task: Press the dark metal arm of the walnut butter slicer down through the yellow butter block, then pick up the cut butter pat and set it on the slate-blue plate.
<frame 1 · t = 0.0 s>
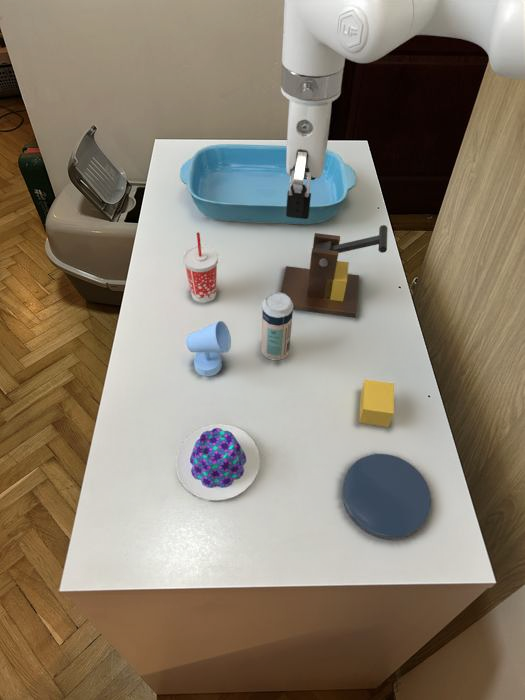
hand: (301, 196, 79), 23 cm above the table, tool pointing down, fingers open, 9 cm apart
plate: (385, 496, 74), on the table
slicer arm: (351, 245, 89), point 12 cm above the table, hinge at 25.0°
pudding: (218, 463, 77), on the table
butter: (336, 280, 95), point 4 cm above the table
casserole dish: (267, 201, 116), on the table
beverage cup: (204, 294, 98), on the table
slicer: (319, 293, 99), on the table
butter pat: (374, 410, 83), on the table
spotlight: (210, 366, 88), on the table
supplement bottle: (275, 351, 90), on the table
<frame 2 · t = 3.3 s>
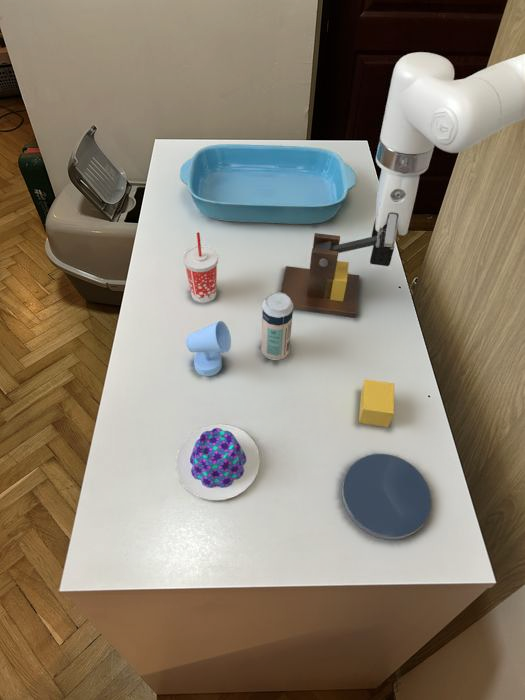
hand: (380, 250, 89), 12 cm above the table, tool pointing down, fingers closed on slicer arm, 5 cm apart
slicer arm: (351, 245, 89), point 12 cm above the table, hinge at 25.0°, touching gripper
everything else where it was.
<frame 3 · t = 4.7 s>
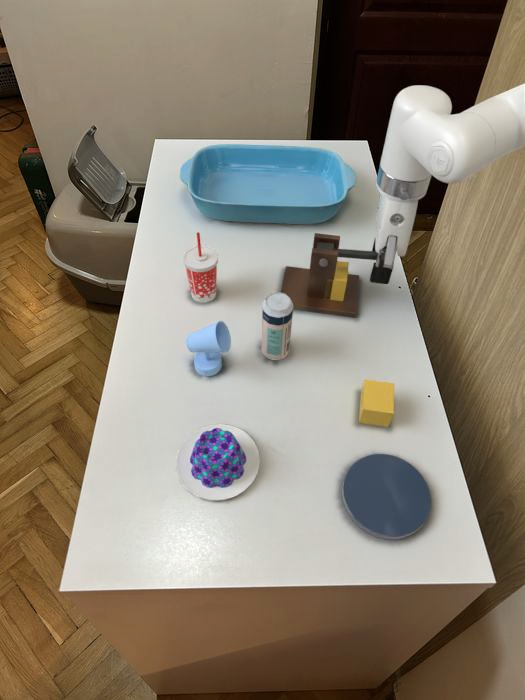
hand: (379, 268, 92), 8 cm above the table, tool pointing down, fingers closed on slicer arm, 5 cm apart
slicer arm: (352, 254, 90), point 10 cm above the table, hinge at 3.2°, touching gripper
everything else where it was.
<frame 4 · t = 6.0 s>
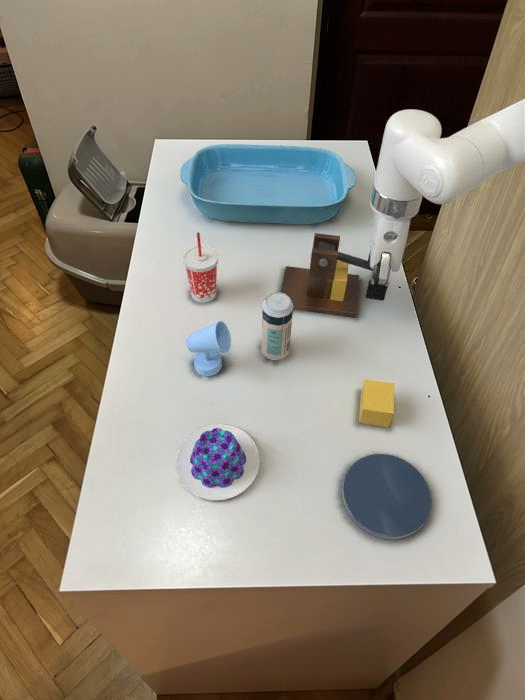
hand: (375, 280, 94), 5 cm above the table, tool pointing down, fingers open, 8 cm apart
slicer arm: (350, 259, 91), point 9 cm above the table, hinge at -13.2°
everything else where it was.
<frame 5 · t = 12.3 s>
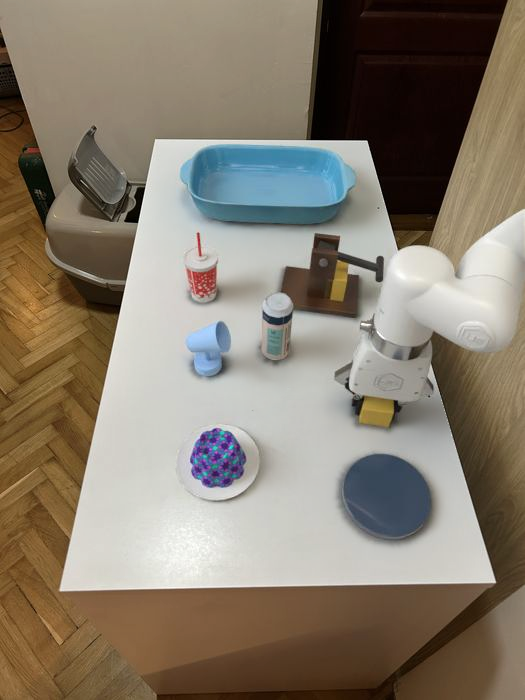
hand: (374, 408, 82), 0 cm above the table, tool pointing down, fingers closed on butter pat, 4 cm apart
butter pat: (374, 410, 83), on the table, touching gripper
everything else where it was.
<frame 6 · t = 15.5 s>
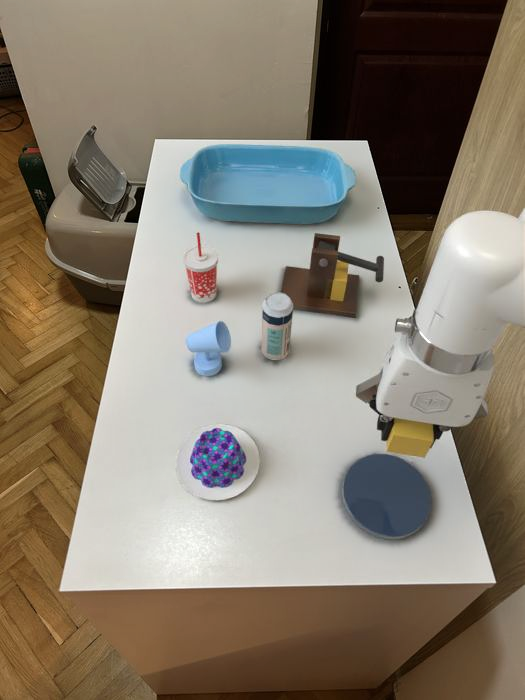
hand: (406, 433, 64), 14 cm above the table, tool pointing down, fingers closed on butter pat, 4 cm apart
butter pat: (405, 434, 64), point 14 cm above the table, touching gripper
everything else where it was.
when the fingers open (2 cm above the table, at t = 18.8 s): butter pat stays where it is, resting on plate.
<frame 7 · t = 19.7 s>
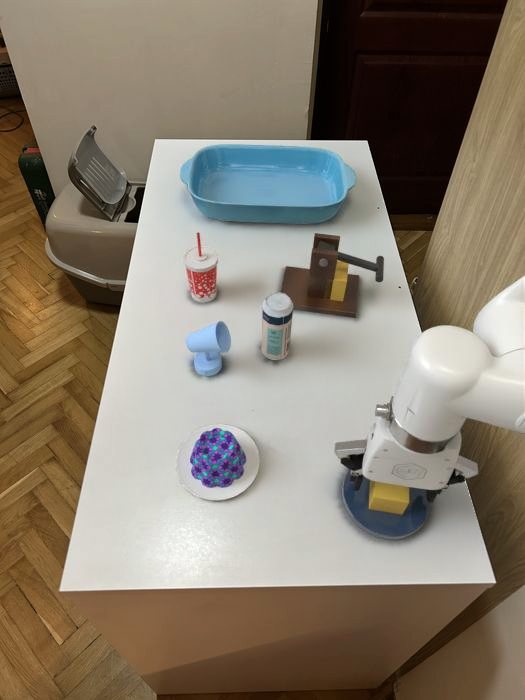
hand: (392, 486, 71), 3 cm above the table, tool pointing down, fingers open, 9 cm apart
butter pat: (385, 492, 73), point 1 cm above the table, touching plate
everything else where it was.
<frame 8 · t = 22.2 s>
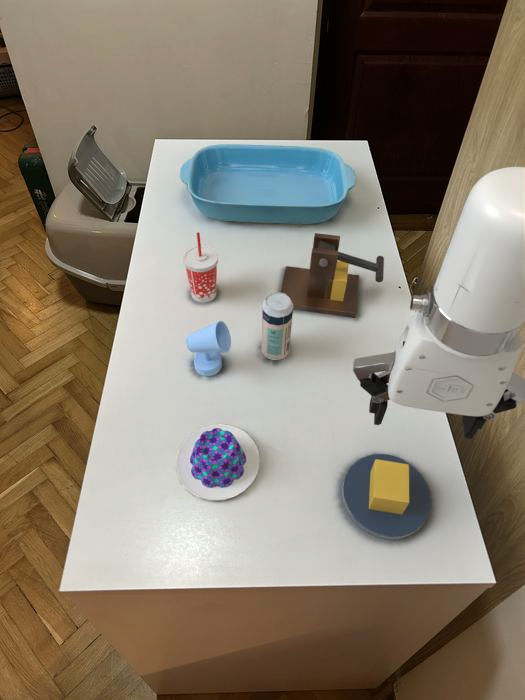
hand: (421, 420, 58), 20 cm above the table, tool pointing down, fingers open, 9 cm apart
nothing on the table moved.
at the end: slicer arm at -13° (first picture: +25°); butter pat inside the target area on the plate (0.1 cm from its centre), point 1.2 cm above the plate's base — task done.
